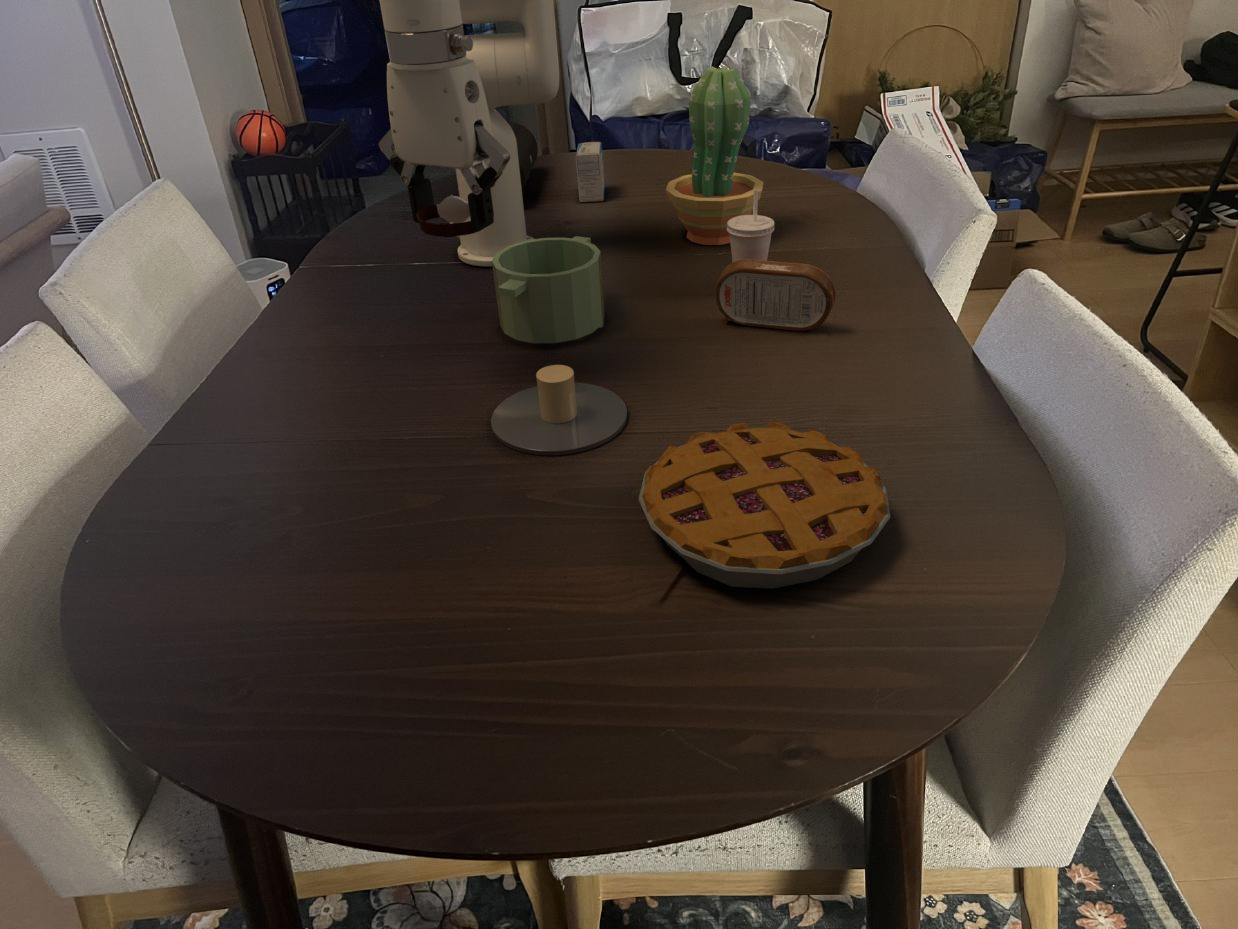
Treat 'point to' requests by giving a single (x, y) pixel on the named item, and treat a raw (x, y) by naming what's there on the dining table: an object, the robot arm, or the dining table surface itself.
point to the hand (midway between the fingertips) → (453, 221)
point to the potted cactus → (715, 159)
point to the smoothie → (750, 234)
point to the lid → (558, 415)
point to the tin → (775, 294)
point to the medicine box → (590, 172)
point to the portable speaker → (525, 151)
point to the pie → (764, 504)
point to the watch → (446, 218)
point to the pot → (549, 289)
